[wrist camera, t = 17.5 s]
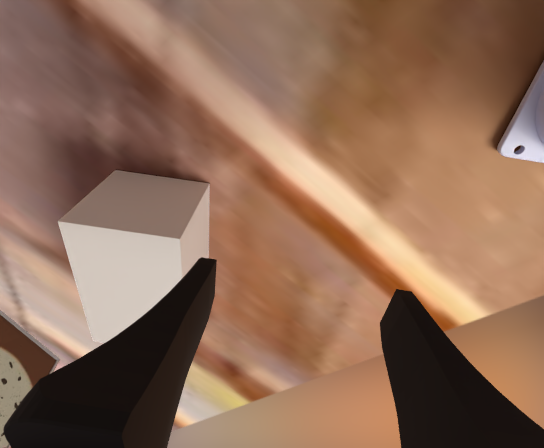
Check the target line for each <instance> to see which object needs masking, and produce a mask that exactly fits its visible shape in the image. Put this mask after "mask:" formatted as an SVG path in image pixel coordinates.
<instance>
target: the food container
mask: <svg viewBox="0 0 544 448" xmlns="http://www.w3.org/2000/svg"><path fill="white" fill-rule="evenodd" d="M59 361H60V359H59V358H58V357H57V356H56V355H54V354H53V353H52V352H51V351H49V350H48V349H47V348H46V347H45V346H43V345H42V344H41V343H40V342H39V341H37V340H36V339H35V338H34V337H33V336H31V335H30V334H29V333H28V332H26V331H25V330H24V329H23V328H22V327H20V326H19V325H18V324H17V323H16V322H14V321H13V320H12V319H11V318H10V317H8V316H7V315H6V314H5V313H3V312H2V311H1V310H0V448H11V446H10V444H9V443H8V441H7V440H6V438H5V435H4V431H3V429H4V425H5V424H6V422H7V421H8V420H9V418H10V417H11V415H12V414H13V412H14V411H15V410H16V408H17V407H18V405H19V404H20V403H21V401H22V400H23V398H24V397H25V396H26V395H27V393H28V392H29V391H30V390H31V389H32V388H33V387H34V385H35V384H36V383H37V382H38V381H39V379H41V378H43V377H45V376H47V375H49V374H51V373H53V371H54V369H55V368H56V366H57V364H58V362H59Z"/></svg>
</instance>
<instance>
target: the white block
mask: <svg viewBox="0 0 544 448" xmlns="http://www.w3.org/2000/svg"><path fill="white" fill-rule="evenodd" d="M209 196H210V183H203V182H196V181H189V180H182V179H175V178H168V177H161V176H154V175H147V174H140V173H133V172H126V171H119V170H115V171H114V172H112V173H111V174H110V175H109V176H108V177H107V178H106V179H105V180H103V181H102V182H101V183H100V184H99V185H98V186H97V187H96V188H94V189H93V190H92V191H91V192H90V193H89V194H88V195H87V196H85V197H84V198H83V199H82V200H81V201H80V202H79V203H78V204H76V205H75V206H74V207H73V208H72V209H71V210H70V211H69V212H68V213H66V214H65V215H64V216H63V217H62V218H61V219H60V220H59V221H58V224H59V228H60V231H61V234H62V238H63V241H64V245H65V248H66V251H67V255H68V258H69V262H70V265H71V268H72V272H73V275H74V279H75V282H76V285H77V289H78V292H79V296H80V299H81V302H82V306H83V309H84V313H85V316H86V319H87V323H88V326H89V330H90V333H91V336H92V340H93V342H100V343H106V342H107V341H109V340H110V339H112V338H113V337H115V336H116V335H118V334H119V333H120V332H122V331H123V330H125V329H126V328H127V327H129V326H130V325H131V324H133V323H134V322H135V321H137V320H138V319H139V318H140V317H142V316H143V315H144V314H145V313H147V312H148V311H149V310H150V309H151V308H152V307H153V306H155V305H156V304H157V303H158V302H159V301H160V300H161V299H162V298H163V297H164V296H165V295H166V294H168V293H169V292H170V291H171V289H172V288H173V287H174V286H175V285H176V284H177V283H178V282H179V281H180V280H181V279H182V278H183V277H184V276H185V275H186V274H187V272H188V271H189V270H190V269H191V268H192V267H193V265H194V264H195V263H196V262H197V260H198V259H199V258H201V257H203V258H209Z"/></svg>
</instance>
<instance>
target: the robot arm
mask: <svg viewBox="0 0 544 448" xmlns="http://www.w3.org/2000/svg"><path fill="white" fill-rule="evenodd" d="M519 145H521V148H520V149H519V150H518V151H516V152H514V149H515V148H516V147H517V146H519ZM497 151H498V152H499V153H500V154H501V155H502V156H505V157H510V158H516V159H522V160H528V161H534V162H540V163H544V61H543V62H542V64H541V66H540V68H539V70H538V72H537V74H536V75H535V77H534V79H533V81H532V83H531V85H530V87H529V88H528V90H527V92H526V94H525V96H524V98H523V100H522V101H521V103H520V105H519V107H518V109H517V111H516V113H515V114H514V116H513V118H512V120H511V122H510V124H509V126H508V127H507V129H506V131H505V133H504V135H503V137H502V139H501V140H500V142H499V144H498V147H497ZM216 261H217V260H215V259H209V258H203V257H201V258H199V259H198V260H197V262H196V263H195V264H194V265H193V267H192V268H191V269H190V270H189V271H188V272H187V274H186V275H185V276H184V277H183V278H182V279H181V280H180V281H179V282H178V283H177V284H176V285H175V286H174V287H173V288H172V289H171V291H170V292H169V293H168V294H166V295H165V296H164V297H163V298H162V299H161V300H160V301H159V302H158V303H157V304H156V305H155V306H153V307H152V308H151V309H150V310H149V311H148V312H147V313H145V314H144V315H143V316H142V317H140V318H139V319H138V320H137V321H135V322H134V323H133V324H131V325H130V326H129V327H127V328H126V329H125V330H123V331H122V332H120V333H119V334H118V335H116V336H115V337H113V338H112V339H110V340H109V341H107V342H106V343H104V344H102V345H101V346H99V347H97V348H96V349H94V350H93V351H91V352H89V353H88V354H86V355H84V356H83V357H81V358H79V359H77V360H76V361H74V362H72V363H70V364H68V365H66V366H64V367H62V368H60V369H58V370H56V371H55V372H53V373H51V374H49V375H47V376H45V377H43V378H41V379H39V381H38V382H37V383H36V384H35V385H34V387H33V388H32V389H31V390H30V391H29V392H28V393H27V395H26V396H25V397H24V398H23V400H22V401H21V403H20V404H19V405H18V407H17V408H16V410H15V411H14V412H13V414H12V415H11V417H10V418H9V420H8V421H7V422H6V424H5V425H4V429H3V431H4V435H5V438H6V440H7V441H8V443H9V444H10V446H11V447H12V448H167V445H168V441H169V437H170V433H171V430H172V426H173V422H174V419H175V415H176V411H177V408H178V404H179V401H180V397H181V394H182V390H183V387H184V383H185V380H186V377H187V374H188V371H189V368H190V366H191V363H192V361H193V358H194V355H195V353H196V350H197V348H198V345H199V343H200V340H201V337H202V335H203V332H204V330H205V327H206V324H207V322H208V319H209V315H210V311H211V308H212V304H213V300H214V295H215V278H216ZM380 330H381V341H382V349H383V353H384V358H385V362H386V367H387V371H388V375H389V379H390V384H391V388H392V392H393V397H394V401H395V406H396V411H397V416H398V424H399V432H400V440H401V448H544V429H543V428H541V427H540V426H539V425H538V424H536V423H535V422H534V421H533V420H531V419H530V418H529V417H528V416H527V415H525V414H524V413H523V412H522V411H521V410H519V409H518V408H517V407H516V406H515V405H514V404H513V403H511V402H510V401H509V400H508V399H507V398H506V397H505V396H503V395H502V394H501V393H500V392H499V391H498V390H497V389H496V388H495V387H494V386H493V385H492V384H491V383H490V382H489V381H488V380H487V379H486V378H485V377H483V375H482V374H481V373H480V372H479V371H477V369H475V367H474V366H473V365H472V364H471V363H470V362H469V361H468V360H467V359H466V358H465V357H464V356H463V354H462V353H461V352H460V351H459V350H458V349H457V348H456V346H455V345H454V344H453V343H452V342H451V341H450V339H449V338H448V337H447V336H446V335H445V333H444V332H443V331H442V330H441V328H440V327H439V326H438V325H437V323H436V322H435V321H434V320H433V318H432V317H431V316H430V314H429V313H428V312H427V311H426V309H425V308H424V307H423V305H422V304H421V303H420V302H419V300H418V299H417V298H416V296H415V295H414V294H413V293H412V292H411V291H404V290H398V289H396V291H395V293H394V295H393V297H392V299H391V301H390V303H389V305H388V308H387V310H386V312H385V314H384V316H383V318H382V320H381V322H380Z"/></svg>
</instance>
